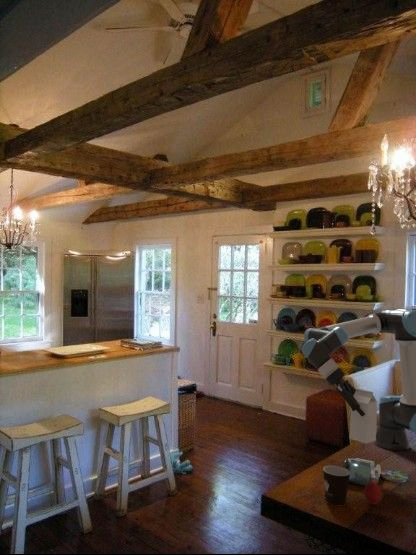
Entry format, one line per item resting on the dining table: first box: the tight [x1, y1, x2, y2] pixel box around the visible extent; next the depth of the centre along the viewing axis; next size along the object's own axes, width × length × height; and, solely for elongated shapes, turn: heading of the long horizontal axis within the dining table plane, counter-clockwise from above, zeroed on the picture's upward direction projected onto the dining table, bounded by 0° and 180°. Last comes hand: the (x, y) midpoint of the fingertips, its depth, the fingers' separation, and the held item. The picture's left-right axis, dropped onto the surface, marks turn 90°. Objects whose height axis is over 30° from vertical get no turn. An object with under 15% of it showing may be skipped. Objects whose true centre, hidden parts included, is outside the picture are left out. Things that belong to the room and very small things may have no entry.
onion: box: [363, 480, 384, 505], centre depth 145 cm, size 6×6×8 cm
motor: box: [342, 457, 382, 486], centre depth 167 cm, size 19×12×8 cm, turn 152°
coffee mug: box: [322, 465, 350, 506], centre depth 148 cm, size 12×9×10 cm
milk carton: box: [349, 388, 378, 444], centre depth 171 cm, size 7×7×19 cm
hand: (372, 419), depth 170 cm, fingers closed on milk carton, 9 cm apart
